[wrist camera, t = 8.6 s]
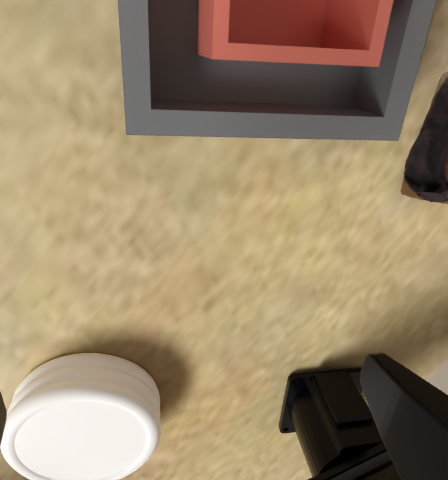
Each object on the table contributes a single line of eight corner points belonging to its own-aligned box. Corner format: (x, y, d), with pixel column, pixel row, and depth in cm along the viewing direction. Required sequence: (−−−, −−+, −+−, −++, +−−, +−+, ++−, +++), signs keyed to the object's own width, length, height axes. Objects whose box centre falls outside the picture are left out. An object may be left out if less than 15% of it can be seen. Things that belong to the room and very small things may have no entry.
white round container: (132, 452, 31) (130, 497, 28) (0, 435, 27) (-20, 485, 24) (180, 365, 27) (184, 407, 24) (35, 333, 24) (17, 377, 21)
